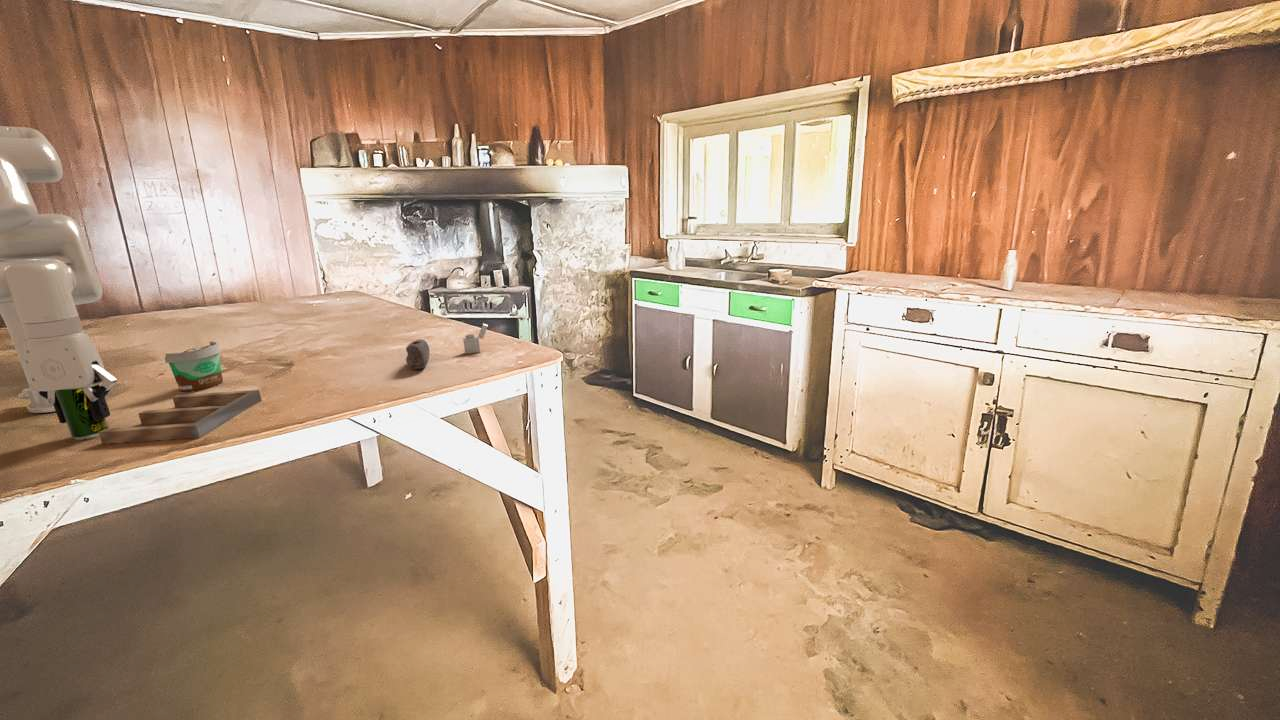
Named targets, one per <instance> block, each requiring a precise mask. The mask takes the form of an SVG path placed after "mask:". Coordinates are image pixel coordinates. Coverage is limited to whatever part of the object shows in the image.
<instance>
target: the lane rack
mask: <svg viewBox="0 0 1280 720" xmlns="http://www.w3.org/2000/svg"><path fill="white" fill-rule="evenodd" d="M171 398H172V401H173V404H174V405H173V406H174V408H169V409H168V408H165V409H151V410H149V409H148V410H142V411H141V412H138V413H137V414H138V418H139V421H140V424H141V425H142V424H146V425H144V426H131V427H118V428H117V427H116V428H108V429H104V430H102V431H100V432H98V433H99V436H98V437H99V439H100V441H101V445H102V444H103V445H111V444H110V443H118V444H124V443H123V442H132V443H141V442H140V441H147V442H155V441H154V440H162V441H171V440H170V439H176V440H186V439H185V438H191V439H200V438H202V437H204V436H206V435H207V434H208V433H210V432H212V431H213V429H214V430H215V429H217V428H218V427H221V426H222V425H223V424H225V423H227V422H228V421H230V420H231V418H232V419H233V418H235V417H237V416H239V415H240V414H242V413H243V412H245V411H247V410H248V409H250V408H251V407H253V406H254V404H255V405H256V404H258V403H260V402H261V401H262V396H261V393H260V389H252V390H236V391H234V390H233V391H222V392H219V391H218V392H207V393H206V392H203V393H191V394H190V393H189V394H176V395H175V396H172V397H171ZM260 400H261V401H260ZM259 401H260V402H259ZM257 402H258V403H257ZM224 404H225V405H224ZM210 405H214V406H210ZM252 405H253V406H252ZM191 406H198V407H191ZM180 407H183V408H180ZM249 407H250V408H249ZM247 408H248V409H247ZM244 410H245V411H244ZM242 411H243V412H242ZM239 413H240V414H239ZM236 415H237V416H236ZM234 416H235V417H234ZM229 419H230V420H229ZM187 421H192V423H190V422H189V423H188V422H187ZM226 421H227V422H226ZM170 422H176V424H175V423H174V424H171V423H170ZM157 423H161V424H162V425H158V424H157ZM221 424H222V425H221ZM147 425H150V426H147Z"/></svg>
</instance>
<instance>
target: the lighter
mask: <svg viewBox="0 0 1280 720" xmlns="http://www.w3.org/2000/svg"><path fill="white" fill-rule="evenodd" d="M488 326H489V325H488V324H486V323H484V322H483V323H482V325H481V328H480V330H479V333H478V336H475V334H474V333H469V334H468V333H467V334H466V335H465V337H463V338H462V341H463V346H464V347H463V348H464V349H463V350H464V354H465V355H467V354H478V353H481V347H480V341H479V339H481V340H483V339H484V337H485V335H486V332H487V330H488Z"/></svg>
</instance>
